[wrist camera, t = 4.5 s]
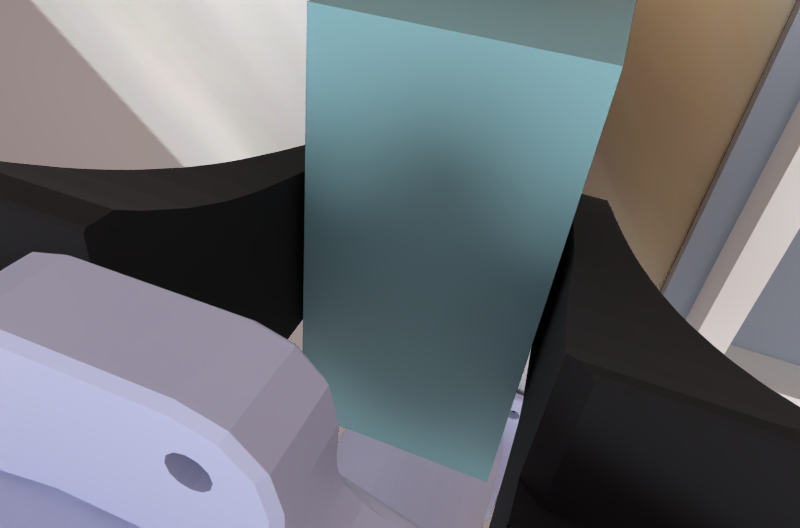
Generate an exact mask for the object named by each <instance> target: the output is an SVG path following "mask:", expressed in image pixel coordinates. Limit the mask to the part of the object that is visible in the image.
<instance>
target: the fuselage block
mask: <svg viewBox="0 0 800 528" xmlns="http://www.w3.org/2000/svg"><path fill="white" fill-rule="evenodd" d="M635 5H636V0H310V1H307V58H306V134H305V210H304V286H303V353H304V354H305V356H306V357H307V358H308V359H309V360H310V361H311V363H312V364H313V365H314V366H315V367H316V369H317V370H318V371H319V372H320V373H321V374H322V376H323V377H324V378H325V379H326V381H327V383H328V385H329V388H330V391H331V395H332V399H333V403H334V406H335V410H336V414H337V418H338V421H339V426H341V427H344V428H347V429H349V430H352V431H354V432H357V433H360V434H362V435H365V436H367V437H370V438H373V439H375V440H378V441H380V442H383V443H386V444H388V445H391V446H393V447H396V448H399V449H401V450H404V451H406V452H409V453H412V454H414V455H417V456H419V457H422V458H425V459H427V460H430V461H432V462H435V463H438V464H440V465H443V466H445V467H448V468H451V469H453V470H456V471H458V472H461V473H464V474H466V475H469V476H471V477H474V478H477V479H479V480H482V481H484V482H487V481H488V478H489V475H490V472H491V469H492V466H493V463H494V460H495V457H496V453H497V450H498V447H499V444H500V441H501V438H502V435H503V432H504V429H505V426H506V423H507V420H508V417H509V414H510V411H511V408H512V405H513V401H514V398H515V395H516V392H517V389H518V386H519V383H520V380H521V377H522V374H523V371H524V368H525V365H526V362H527V359H528V356H529V353H530V350H531V346H532V343H533V340H534V337H535V334H536V331H537V328H538V325H539V322H540V319H541V316H542V313H543V310H544V307H545V304H546V301H547V298H548V294H549V291H550V288H551V285H552V282H553V279H554V276H555V273H556V270H557V267H558V264H559V261H560V258H561V255H562V252H563V249H564V246H565V243H566V239H567V236H568V233H569V230H570V227H571V224H572V221H573V218H574V215H575V212H576V209H577V206H578V203H579V200H580V197H581V194H582V191H583V187H584V184H585V181H586V178H587V175H588V172H589V169H590V166H591V163H592V160H593V157H594V154H595V151H596V148H597V145H598V142H599V139H600V136H601V132H602V129H603V126H604V123H605V120H606V117H607V114H608V111H609V108H610V105H611V102H612V99H613V96H614V93H615V90H616V87H617V84H618V80H619V77H620V74H621V71H622V68H623V65H624V60H625V55H626V50H627V45H628V40H629V35H630V30H631V25H632V20H633V15H634V10H635Z"/></svg>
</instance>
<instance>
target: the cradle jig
mask: <svg viewBox="0 0 800 528" xmlns="http://www.w3.org/2000/svg"><path fill="white" fill-rule="evenodd" d="M661 294H662V295H663V296H664V297H665V298H666V299H667V300H668V301H669V303H670V304H671V305H672V306H673V307H674V308H675V309H676V311H677V312H678V313H679V314H680V315H681V316H682V317H683V318H684V319H685V320H686V321H687V322H688V323H689V324H690V325H691V326H692V327H693V328H695V329H696V330H697V331H698V332H699V333H700V334H701V335H702V336H703V337H704V338H705V339H707V340H708V341H709V342H710V343H711V344H712V345H713V346H714V347H716V348H717V349H718V350H719V351H721V352H722V353H723V354H724V355H725V356H727V357H728V358H729V359H730V360H732V361H733V362H734V363H736V364H737V365H738V366H740V367H741V368H742V369H744V370H745V371H746V372H748V373H749V374H751V375H752V376H753V377H755V378H756V379H757V380H759V381H760V382H761V383H763V384H764V385H766V386H767V387H769V388H770V389H772V390H773V391H775V392H777V393H778V394H780V395H781V396H783V397H785V398H786V399H788V400H789V401H791V402H793V403H794V404H796V405H798V406H799V407H800V0H797V2H796V4H795V7H794V9H793V11H792V13H791V15H790V17H789V19H788V22H787V24H786V26H785V28H784V30H783V32H782V34H781V36H780V39H779V41H778V43H777V45H776V47H775V49H774V51H773V53H772V56H771V58H770V60H769V62H768V64H767V66H766V68H765V70H764V73H763V75H762V77H761V79H760V81H759V83H758V85H757V87H756V90H755V92H754V94H753V96H752V98H751V100H750V102H749V104H748V107H747V109H746V111H745V113H744V115H743V117H742V119H741V121H740V124H739V126H738V128H737V130H736V132H735V134H734V136H733V139H732V141H731V143H730V145H729V147H728V149H727V151H726V153H725V156H724V158H723V160H722V162H721V164H720V166H719V168H718V170H717V173H716V175H715V177H714V179H713V181H712V183H711V185H710V187H709V190H708V192H707V194H706V196H705V198H704V200H703V202H702V204H701V207H700V209H699V211H698V213H697V215H696V217H695V219H694V221H693V224H692V226H691V228H690V230H689V232H688V234H687V236H686V239H685V241H684V243H683V245H682V247H681V249H680V251H679V253H678V256H677V258H676V260H675V262H674V264H673V266H672V268H671V270H670V273H669V275H668V277H667V279H666V281H665V283H664V285H663V287H662V290H661Z"/></svg>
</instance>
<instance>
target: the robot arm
mask: <svg viewBox="0 0 800 528" xmlns="http://www.w3.org/2000/svg"><path fill="white" fill-rule="evenodd" d="M304 210H305V145H303V146H299V147H295V148H291V149H287V150H284V151H279V152H275V153H270V154H266V155H261V156H256V157H252V158H247V159H243V160H237V161H232V162H226V163H219V164H212V165H203V166H195V167H185V168H169V169H168V168H167V169H149V170H148V169H147V170H95V169H74V168H59V167H49V166H39V165H29V164H19V163H9V162H1V161H0V528H482V526H483V523H484V521H486V520H488V519H489V517H490V515H491V512H492V509H493V506H494V503H495V501H496V498H497V495H498V498H497V501H496V505H495V509H494V512H493V516H492V520H491V523H490V527H489V528H800V407H799V406H798V405H796V404H794V403H793V402H791V401H789V400H788V399H786V398H785V397H783V396H781V395H780V394H778V393H777V392H775V391H773V390H772V389H770V388H769V387H767V386H766V385H764V384H763V383H761V382H760V381H759V380H757V379H756V378H755V377H753V376H752V375H751V374H749V373H748V372H746V371H745V370H744V369H742V368H741V367H740V366H738V365H737V364H736V363H734V362H733V361H732V360H730V359H729V358H728V357H727V356H725V355H724V354H723V353H722V352H721V351H719V350H718V349H717V348H716V347H714V346H713V345H712V344H711V343H710V342H709V341H708V340H707V339H705V338H704V337H703V336H702V335H701V334H700V333H699V332H698V331H697V330H696V329H695V328H693V327H692V326H691V325H690V324H689V323H688V322H687V321H686V320H685V319H684V318H683V317H682V316H681V315H680V314H679V313H678V312H677V311H676V309H675V308H674V307H673V306H672V305H671V304H670V303H669V301H668V300H667V299H666V298H665V297H664V296H663V295H662V294H661V292H660V291H659V290H658V289H657V287H656V286H655V285H654V284H653V282H652V281H651V280H650V278H649V277H648V275H647V274H646V272H645V271H644V269H643V268H642V267H641V265H640V264H639V262H638V261H637V259H636V257H635V256H634V254H633V252H632V250H631V249H630V247H629V245H628V243H627V241H626V239H625V237H624V235H623V233H622V231H621V229H620V227H619V225H618V223H617V221H616V218H615V216H614V214H613V211H612V209H611V207H610V205H609V203H608V201H607V200H603V199H599V198H595V197H591V196H588V195H584V194H581V197H580V200H579V203H578V206H577V209H576V212H575V215H574V218H573V221H572V224H571V227H570V230H569V233H568V236H567V239H566V243H565V246H564V249H563V252H562V255H561V258H560V261H559V264H558V267H557V270H556V273H555V276H554V279H553V282H552V285H551V288H550V291H549V294H548V298H547V301H546V304H545V307H544V310H543V313H542V316H541V319H540V322H539V325H538V328H537V331H536V334H535V337H534V340H533V343H532V347H531V353H530V360H529V366H528V372H527V379H526V385H525V391H524V396H522V395H520V394H518V393H516V395H515V398H514V401H513V405H512V408H511V411H510V414H509V417H508V420H507V423H506V426H505V429H504V432H503V435H502V438H501V441H500V444H499V447H498V450H497V453H496V457H495V460H494V463H493V466H492V469H491V472H490V475H489V478H488V481H487V482H484V481H482V480H479V479H477V478H474V477H471V476H469V475H466V474H464V473H461V472H458V471H456V470H453V469H451V468H448V467H445V466H443V465H440V464H438V463H435V462H432V461H430V460H427V459H425V458H422V457H419V456H417V455H414V454H412V453H409V452H406V451H404V450H401V449H399V448H396V447H393V446H391V445H388V444H386V443H383V442H380V441H378V440H375V439H373V438H370V437H367V436H365V435H362V434H360V433H357V432H354V431H352V430H349V429H347V428H346V429H345V430H344V432H343V434H342V436H341V437H340V439H339V441H338V429H339V421H338V418H337V414H336V410H335V406H334V403H333V399H332V395H331V391H330V388H329V385H328V383H327V381H326V379H325V378H324V377H323V376H322V374H321V373H320V372H319V371H318V370H317V369H316V367H315V366H314V365H313V364H312V363H311V361H310V360H309V359H308V358H307V357H306V356H305V354H304V353H303V352H302V351H301V350H300V349H299V347H298V346H297V345H296V344H294V343H293V342H291V341H289V340H287V339H288V338H289V337H290V335H291V334H292V333H293V331H294V330H295V329H296V327H297V326H298V325H299V323H300V322H301V321H302V320H303V286H304ZM512 411H515V412H517V413H514V412H512ZM500 486H501V487H500ZM499 489H500V491H499ZM498 492H499V494H498Z"/></svg>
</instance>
